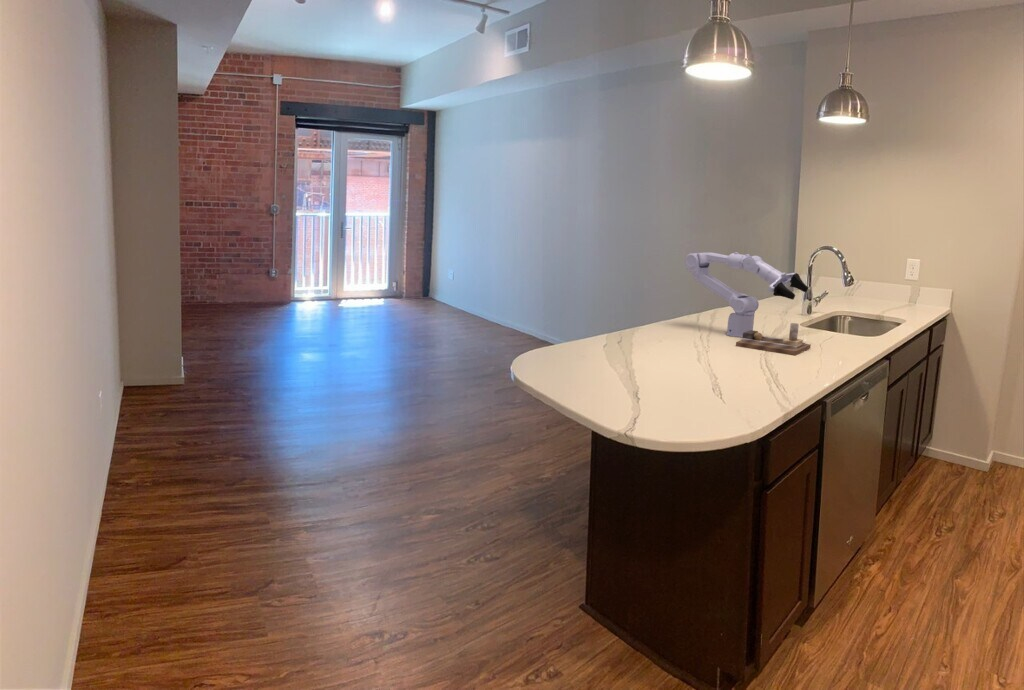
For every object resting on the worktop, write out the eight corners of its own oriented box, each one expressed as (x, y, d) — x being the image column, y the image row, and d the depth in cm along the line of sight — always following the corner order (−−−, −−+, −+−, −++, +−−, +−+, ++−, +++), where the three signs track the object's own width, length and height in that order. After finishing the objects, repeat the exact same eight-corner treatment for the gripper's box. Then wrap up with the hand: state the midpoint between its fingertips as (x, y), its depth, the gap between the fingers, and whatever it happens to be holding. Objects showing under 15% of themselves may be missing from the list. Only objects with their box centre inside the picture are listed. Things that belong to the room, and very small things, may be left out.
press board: (735, 345, 269) (736, 333, 268) (752, 339, 281) (753, 327, 280) (795, 355, 256) (796, 342, 255) (810, 348, 268) (811, 336, 267)
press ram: (782, 345, 263) (784, 324, 261) (788, 343, 268) (790, 321, 266) (796, 347, 260) (798, 325, 258) (802, 345, 265) (804, 323, 263)
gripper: (761, 273, 271) (791, 292, 263) (786, 260, 277) (815, 278, 269) (756, 288, 275) (785, 307, 267) (781, 275, 282) (810, 292, 274)
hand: (800, 293), depth 269 cm, fingers open, 7 cm apart
